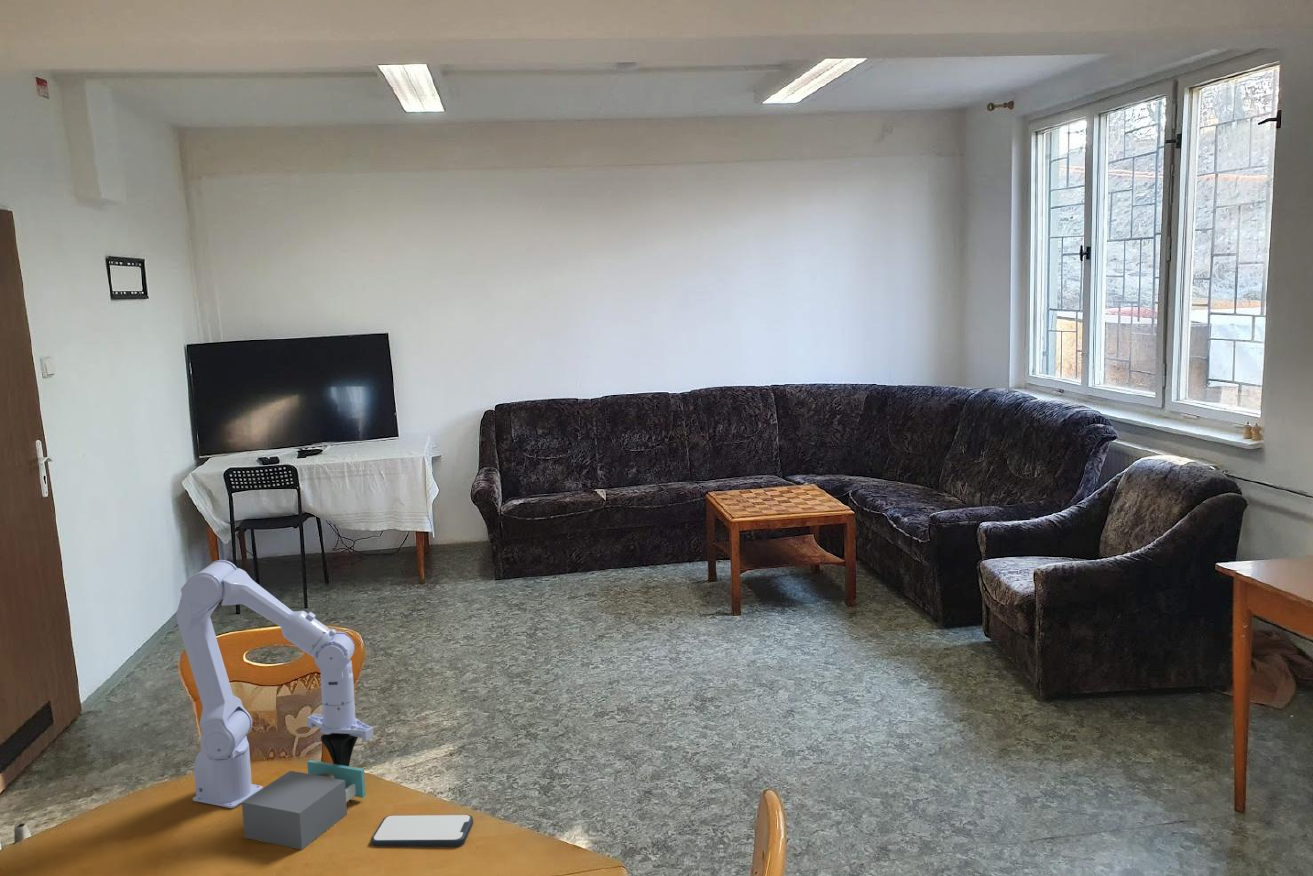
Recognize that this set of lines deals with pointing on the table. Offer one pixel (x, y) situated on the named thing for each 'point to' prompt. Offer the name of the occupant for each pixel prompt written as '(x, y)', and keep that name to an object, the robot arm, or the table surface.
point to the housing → (294, 809)
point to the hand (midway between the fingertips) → (342, 769)
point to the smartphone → (422, 831)
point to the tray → (341, 776)
